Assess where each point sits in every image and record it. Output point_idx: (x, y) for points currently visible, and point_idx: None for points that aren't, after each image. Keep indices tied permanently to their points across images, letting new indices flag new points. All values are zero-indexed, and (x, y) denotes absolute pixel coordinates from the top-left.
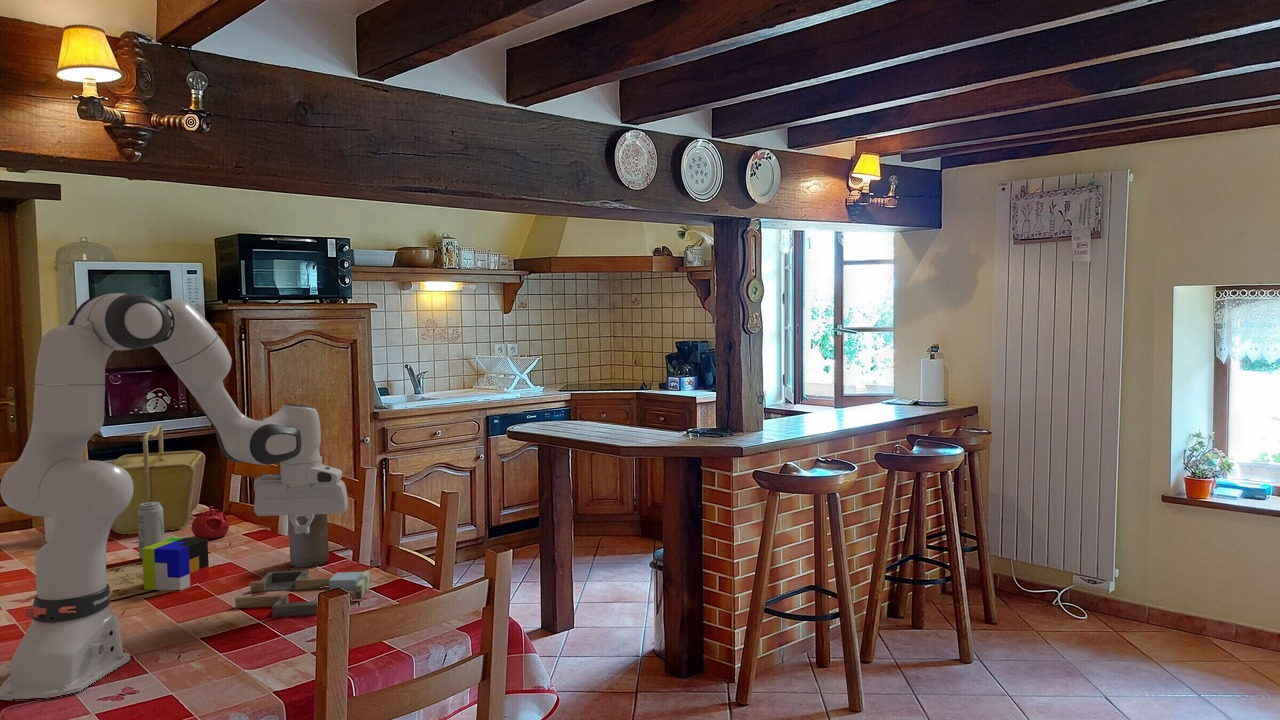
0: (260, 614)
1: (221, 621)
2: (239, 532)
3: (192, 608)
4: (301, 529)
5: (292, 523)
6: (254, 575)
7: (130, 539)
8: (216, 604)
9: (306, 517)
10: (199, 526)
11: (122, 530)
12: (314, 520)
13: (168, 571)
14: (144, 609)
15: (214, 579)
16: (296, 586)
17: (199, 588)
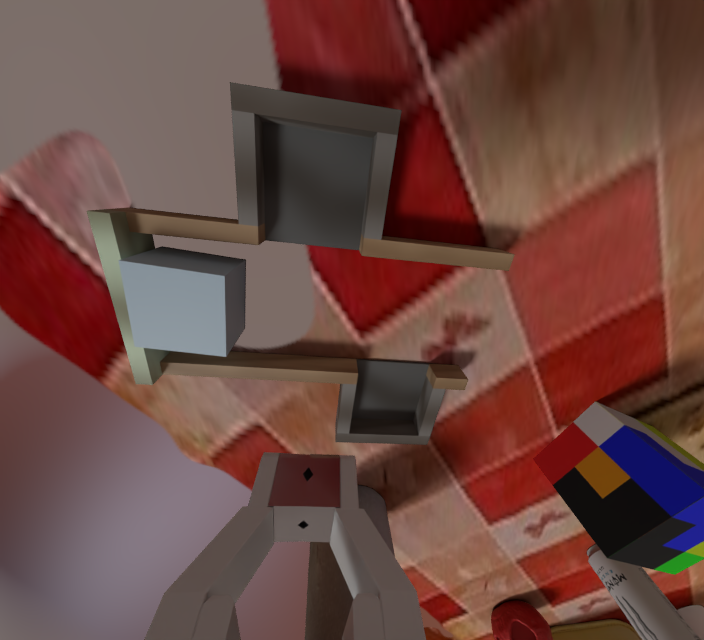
0: (431, 164)
1: (544, 126)
2: (471, 617)
3: (595, 279)
4: (304, 482)
5: (378, 542)
6: (450, 460)
7: (610, 606)
8: (538, 295)
9: (221, 622)
10: (543, 630)
11: (621, 627)
12: (332, 632)
13: (658, 444)
14: (691, 302)
15: (524, 452)
16: (353, 363)
17: (558, 410)
